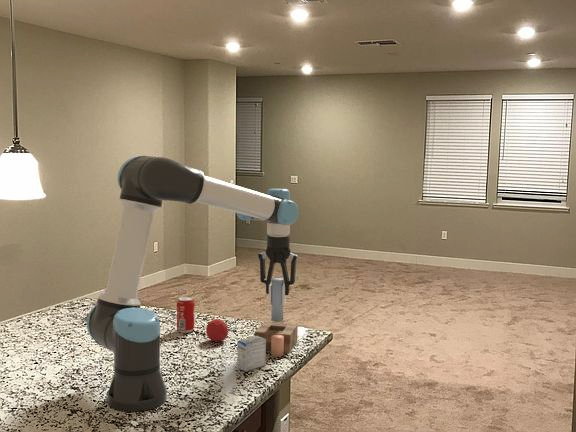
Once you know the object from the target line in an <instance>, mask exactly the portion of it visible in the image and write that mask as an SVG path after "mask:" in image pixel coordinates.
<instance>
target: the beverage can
mask: <svg viewBox="0 0 576 432" xmlns="http://www.w3.org/2000/svg"><path fill="white" fill-rule="evenodd" d="M194 329H195V301H194V299H193V297H192V296H191V297H190V296H181V297H179V298H178V300H177V302H176V330H177V331H178V332H179V333H185V334H187V333H192V332H193V330H194Z"/></svg>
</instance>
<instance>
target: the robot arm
mask: <svg viewBox="0 0 576 432" xmlns="http://www.w3.org/2000/svg"><path fill="white" fill-rule="evenodd" d="M117 184H118V187H119V188H120V190H121V191H120V194H119V201H120V203H121V204H122V207H123V209H122V213H121V218H120V223H119V227H118V232H117V236H116V241H115V245H114V250H113V255H112V260H111V265H110V268H109V272H108V273H109V274H108V278H107V282H106V288H105V289H106V291H105V290H104V291H105V292H104V291H103V292H104V293H103V294H101V293H100V294H101V295H98V298H97V299H98V302H97V305H96V306H95V305H94V307H92V308H91V310H90V311H89V312H88V315H87V317H86V330H87V333H88V334H89V336H90V338H91V339H92V340H93V341H94V342H95V343H96V344H97V345H99V346H101V347H104V348H105V349H106V350H108V351H111V352H112V353H113V363H114V364H113V365H114V366H113V369H114V370H113V372H114V373H113V376H112V378H111V381H110V384H109V385H110V386H109V388H108V391H107V405H108V406H109V407H110V408H112V409H114V410H117V411H122V412H142V411H146V410H147V411H148V410H152V409H155V408H157V407H159V406H161V405H163V404H164V403H165V402H166V401H167V394H168V393H167V391H168V390H167V386H166V383H165V381H164V378H163V375H162V373H161V365H160V364H161V325H160V318H159V315H158V314H157V313H156V312H155V311H153V310H152V309H148V308H142V307H141V305H142V303H141V302H140V300H139V298H138V293H139V287H140V283H141V279H142V278H141V277H142V273H143V269H144V264H145V259H146V255H147V248H148V245H149V240H150V235H151V230H152V227H153V222H154V218H155V217H154V216H155V213H156V212H157V211H160V210H161V209H162V206H163V202H165V201H168V202H173V201H174V202H179V203H180V202H181V203H185V204H189V205H193V204H195V203H199V204H203V205H207V206H211V207H215V208H218V209H221V210H225V211H230V212H234V213H236V216H237V218H239V219H240V220H242V221H247V222H248V221H261V222H265V223H266V222H267V223H266V224H267V225H266V234H267V236H266V250H265V251H263V252H260V253H258V255H257V257H258V259H259V273H260V277H259V279H260V280H259V281H260V283H262V284H265V294H266V295H268V305H269V306H272V279H273V274H274V269H275V266H276V264H280V267H281V272H282V279H284V285H283V286H282V305H283V306H285V305H286V304H287V296H289V294H290V286H292V285H294V284H295V282H296V271H297V270H296V269H297V260H298V258H299V254H294V253H293V252H291V251H292V250H291V249H290V247H291V246H290V241H291V240H290V236H289V235H290V234H291V225H293V224H294V223H296V222H297V220H298V217H299V215H300V214H299V207H298V204H297V203H296V202H295V201H293V200H291V191H290V190H289V189H287V188H269V189H268V190H267V194H265V193H262V192H259V191H256V190H254V189H253V190H252V189H250V188H246V187H243V186H240V185H236V184H233V183H229V182H226V181H224V180H221V179H220V180H219V179H217V178H214V177H210V176H207V175H204V172H203V171H202V170H200V169H197V168H194V167H191V166H189V165H187V164H183V163H181V162H179V161H176V160H173V159H171V158H168V157H164V156H163V157H162V156H151V155H150V156H149V155H148V156H147V155H139V156H133V157H131V158H129V159H127V160H125V161H124V163H122V164H121V166H120V168H119V171H118V173H117ZM266 258H268V259H269V265H268V266H269V267H268V270H267V274H266ZM288 259H290V275H289V271H288V266H287V260H288ZM289 277H290V278H289Z"/></svg>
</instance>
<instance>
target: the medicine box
mask: <svg viewBox="0 0 576 432" xmlns="http://www.w3.org/2000/svg"><path fill="white" fill-rule="evenodd" d="M236 346H237V350H236V351H237V353H236V354H237V355H236V359H237V361H236V363H237V365H236V367H237V369H239V370H242V371H244V372H249V371H252V370H254V369H255V370H256V369H258V368H261V367H264V366H266V353H267V352H266V351H267V350H266V339H264V338H262V337H259V336H255V335H253V336H250V337H246V338H243V339H239V340H237V345H236Z"/></svg>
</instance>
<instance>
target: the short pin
mask: <svg viewBox="0 0 576 432" xmlns="http://www.w3.org/2000/svg"><path fill="white" fill-rule="evenodd" d="M283 351H284V336H282V335H273V336H271V351H270V355H271V356H272V357H275V358H276V357H277V358H279V357H283V356H284V352H283Z"/></svg>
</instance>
